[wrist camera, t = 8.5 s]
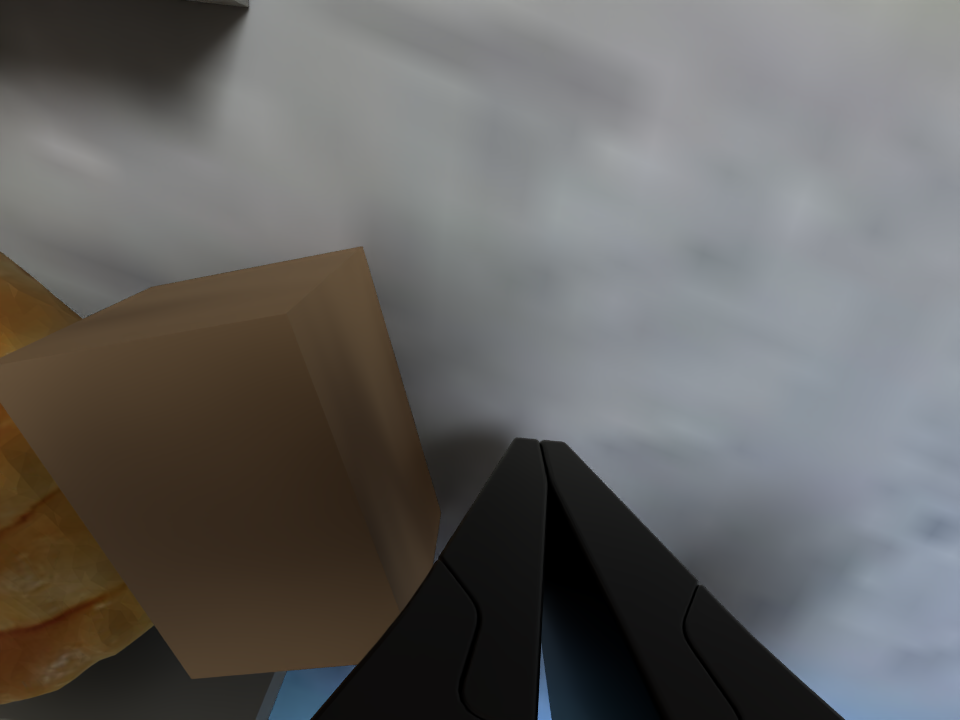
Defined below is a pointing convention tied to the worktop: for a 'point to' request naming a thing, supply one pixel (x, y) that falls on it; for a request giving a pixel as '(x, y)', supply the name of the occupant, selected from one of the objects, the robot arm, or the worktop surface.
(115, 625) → the pastry
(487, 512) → the robot arm
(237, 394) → the cardboard brown box
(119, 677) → the bay
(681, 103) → the worktop surface
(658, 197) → the worktop surface
